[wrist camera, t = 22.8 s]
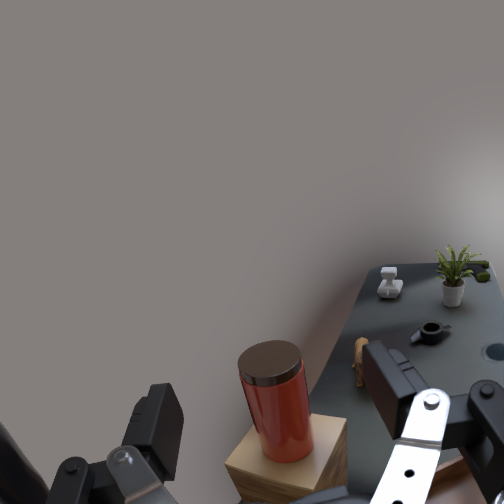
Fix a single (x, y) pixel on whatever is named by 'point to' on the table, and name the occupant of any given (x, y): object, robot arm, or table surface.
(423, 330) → the duct tape
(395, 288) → the stamp
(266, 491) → the oak stand
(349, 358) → the table surface
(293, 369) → the spice jar
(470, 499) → the wooden box
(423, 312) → the table surface
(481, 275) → the gun
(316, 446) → the cork trivet
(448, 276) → the house plant
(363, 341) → the lion figurine
